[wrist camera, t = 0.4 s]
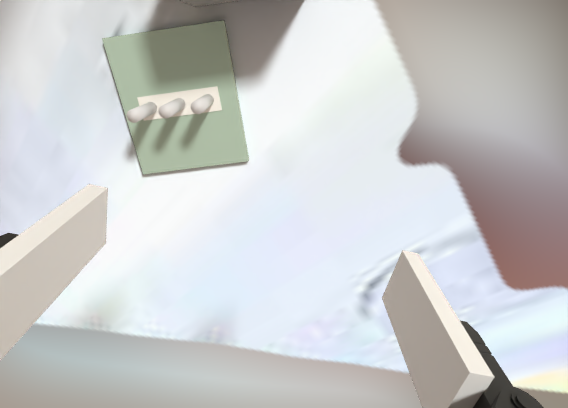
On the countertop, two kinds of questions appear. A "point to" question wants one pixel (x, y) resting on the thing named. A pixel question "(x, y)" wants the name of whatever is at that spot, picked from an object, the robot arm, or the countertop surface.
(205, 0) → the block
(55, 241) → the robot arm
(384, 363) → the countertop surface
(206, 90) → the board
